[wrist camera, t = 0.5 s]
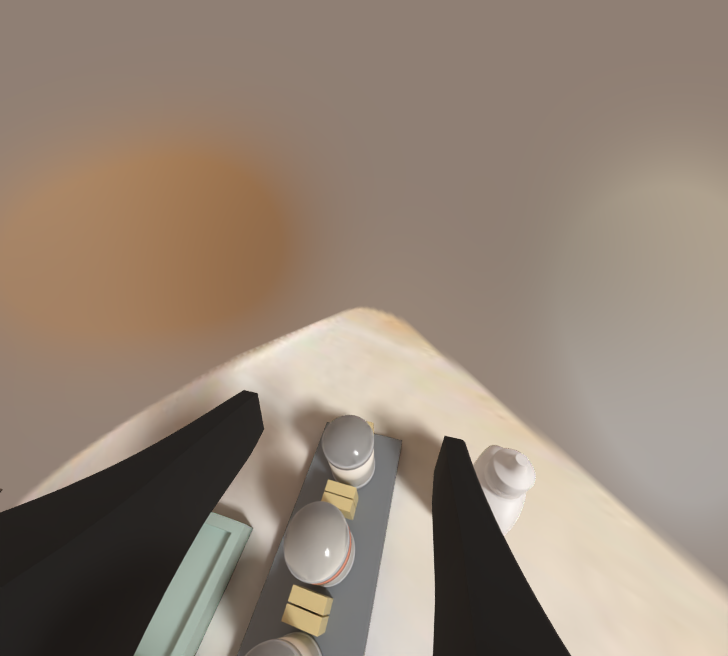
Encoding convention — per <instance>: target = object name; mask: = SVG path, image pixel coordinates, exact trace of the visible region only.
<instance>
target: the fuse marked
mask: <svg viewBox="0 0 728 656" xmlns="http://www.w3.org/2000/svg"><path fill="white" fill-rule="evenodd" d="M355 552H356V551H355V541H354V538H353V535H352V533H351V531H350V529H349V526H348V524H347V522H346V519H345V517H344V515H343V514H342V512H341V511H340V510H339V509H338V508H337V507H336V506H334V505H333V504H331V503H328V502H324V501H316V502H312V503H310V504H307V505H306V506H304V507H303V508H301V509H300V510H299V511H298V512H297V513H296V514H295V515H294V517H293V518H292V520H291V521H290V523H289V525H288V527H287V530H286V533H285V538H284V557H285V561H286V564H287V566H288V568H289V570H290V571H291V573H292V574H293V575H294V576H295V577H296V578H297V579H299V580H301V581H303V582H306V583H310V584H314V585H318V586H321V587H332V586H335V585H338V584H339V583H341V582H342V581H343V580H344V579H345V578H346V577H347V576H348V574H349V573H350V571H351V569H352V566H353V564H354V560H355Z"/></svg>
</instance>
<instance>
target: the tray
mask: <svg viewBox="0 0 728 656" xmlns="http://www.w3.org/2000/svg"><path fill="white" fill-rule="evenodd" d="M252 529H253V528H251V527H250V526H248V525H246V524H244V523H241V522H238V521H236V520H233V519H230V518H227V517H224V516H222V515H219V514H216V513H213V512H211V513H210V515H209V516H208V518H207V519H206V521H205V523H204V524H203V526H202V528H201V529H200V531H199V533H198V534H197V536H196V538H195V540H194V541H193V543H192V545H191V547H190V548H189V550H188V552H187V554H186V555H185V557H184V559H183V561H182V563H181V565H180V566H179V568H178V570H177V572H176V574H175V575H174V577H173V579H172V581H171V583H170V585H169V586H168V588H167V590H166V592H165V594H164V596H163V598H162V600H161V602H160V604H159V606H158V608H157V610H156V612H155V614H154V616H153V617H152V619H151V621H150V623H149V625H148V627H147V629H146V631H145V633H144V635H143V638H142V640H141V642H140V644H139V646H138V648H137V650H136V652H135V654H134V656H195V654H196V652H197V650H198V648H199V646H200V643H201V641H202V639H203V637H204V635H205V632H206V630H207V628H208V626H209V624H210V621H211V619H212V617H213V615H214V613H215V610H216V608H217V606H218V604H219V602H220V600H221V597H222V595H223V593H224V591H225V589H226V586H227V584H228V582H229V580H230V578H231V575H232V573H233V571H234V569H235V567H236V564H237V562H238V560H239V558H240V556H241V553H242V551H243V549H244V547H245V545H246V542H247V540H248V538H249V536H250V534H251V531H252Z"/></svg>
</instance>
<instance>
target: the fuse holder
mask: <svg viewBox="0 0 728 656" xmlns="http://www.w3.org/2000/svg"><path fill="white" fill-rule="evenodd" d="M366 422H367V421H366ZM367 423H368V424H369V425H370V427H371V429H372V431H373V435H374V458H375V472H374V475H373V478H372V479H371V481H370V482H369V483H368V484H367V485H366V486H365V487H363V488H361V489H359V490H357V488H356V487H352V486H349V485H345V484H342V483H339V482H336V481H335V479H334V477H333V474H332V471H331V468H330V465H329V462H328V460H327V458H326V456H325V454H324V451H323V448H322V437H323V434H324V431H325V429H326V428H327V426H328V425H329V424H330V423H329V422H327V424H326V426H325V429H324V431H323V434H322V437H321V439H320V442H319V444H318V447H317V450H316V452H315V455H314V457H313V460H312V463H311V465H310V468H309V470H308V473H307V476H306V478H305V481H304V483H303V486H302V489H301V491H300V494H299V496H298V499H297V501H296V504H295V507H294V509H293V512H292V514H291V517H290V520H289V522H288V525H289V523H290V521H291V520H292V518H293V517H294V515H295V514H296V513H297V512H298V511H299V510H300V509H301V508H303V507H304V506H306V505H307V504H310V503H312V502H316V501H324V502H328V503H331V504H333V505H334V506H336V507H337V508H338V509H339V510H340V511H341V512H342V514H343V515H344V517H345V519H346V522H347V524H348V526H349V529H350V531H351V533H352V535H353V538H354V541H355V551H356V552H355V560H354V564H353V566H352V569H351V571H350V573H349V574H348V576H347V577H346V578H345V579H344V580H343V581H342V582H341V583H339V584H338V585H335V586H332V587H321V586H318V585H314V584H310V583H306V582H303V581H301V580H299V579H297V578H296V577H295V576H294V575H293V574H292V573H291V571H290V570H289V568H288V566H287V564H286V561H285V557H284V538H285V533H286V530H287V527H288V525H287V527H286V530H285V533H284V535H283V538H282V540H281V543H280V546H279V548H278V551H277V553H276V556H275V558H274V561H273V564H272V566H271V569H270V571H269V574H268V577H267V579H266V582H265V584H264V587H263V590H262V592H261V595H260V597H259V600H258V603H257V605H256V608H255V610H254V613H253V616H252V618H251V621H250V623H249V626H248V628H247V631H246V634H245V636H244V639H243V641H242V644H241V647H240V649H239V652H238V654H237V656H245V655H246V654H247V653H248V652H249V651H250V650H251V649H252V648H254V647H255V646H257V645H258V644H260V643H262V642H265V641H268V640H271V639H278V638H281V637H283V636H284V635H287V634H289V633H292V632H304V633H307V634H309V635H310V636H312V637H313V638H314V639H315V640H316V642H317V643H318V645H319V647H320V649H321V651H322V654H323V656H364V655H365V649H366V643H367V638H368V632H369V626H370V621H371V615H372V609H373V604H374V598H375V592H376V587H377V581H378V575H379V570H380V564H381V558H382V553H383V547H384V541H385V536H386V530H387V524H388V519H389V513H390V507H391V502H392V496H393V490H394V485H395V479H396V473H397V468H398V462H399V456H400V451H401V445H402V440H398V439H394V438H390V437H386V436H382V435H378V434H374V427H373V423H372V422H367Z"/></svg>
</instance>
